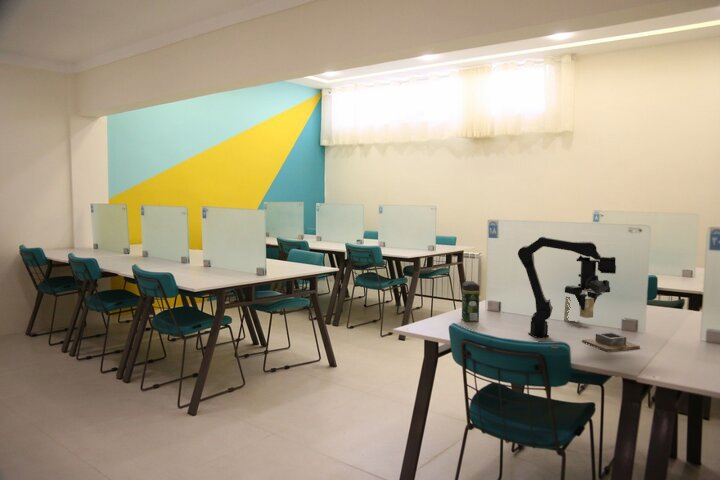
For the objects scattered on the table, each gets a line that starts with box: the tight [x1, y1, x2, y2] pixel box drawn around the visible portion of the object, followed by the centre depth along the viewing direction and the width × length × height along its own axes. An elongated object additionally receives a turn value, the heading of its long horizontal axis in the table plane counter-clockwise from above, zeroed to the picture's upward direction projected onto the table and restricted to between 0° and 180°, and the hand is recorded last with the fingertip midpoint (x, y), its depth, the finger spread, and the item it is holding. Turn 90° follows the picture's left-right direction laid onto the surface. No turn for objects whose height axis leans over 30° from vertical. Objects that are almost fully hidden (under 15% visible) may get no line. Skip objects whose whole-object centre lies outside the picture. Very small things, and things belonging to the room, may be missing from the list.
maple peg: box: [579, 296, 595, 319], centre depth 224 cm, size 4×4×8 cm
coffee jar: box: [461, 280, 481, 323], centre depth 260 cm, size 10×8×19 cm
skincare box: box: [563, 295, 571, 322], centre depth 259 cm, size 6×4×12 cm
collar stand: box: [581, 331, 641, 353], centre depth 219 cm, size 16×14×4 cm
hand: (586, 309), depth 225 cm, fingers closed on maple peg, 4 cm apart
